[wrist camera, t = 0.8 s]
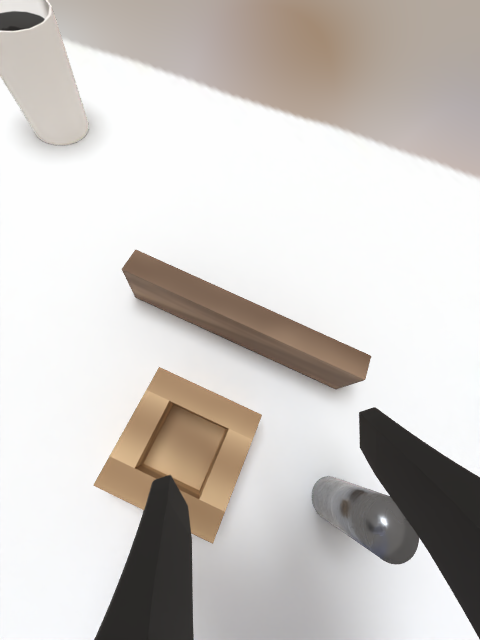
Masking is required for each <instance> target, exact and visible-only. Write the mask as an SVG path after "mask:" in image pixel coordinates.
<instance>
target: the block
mask: <svg viewBox="0 0 480 640" xmlns="http://www.w3.org/2000/svg"><path fill="white" fill-rule="evenodd" d="M261 416H262V415H261V414H259V413H257V412H254V411H252V410H250V409H248V408H246V407H244V406H242V405H239V404H237V403H235V402H233V401H231V400H229V399H227V398H224V397H222V396H220V395H218V394H216V393H214V392H212V391H209V390H207V389H205V388H203V387H201V386H199V385H197V384H194V383H192V382H190V381H188V380H186V379H184V378H182V377H179V376H177V375H175V374H173V373H171V372H169V371H167V370H164V369H162V368H160V367H159V368H158V370H157V372H156V374H155V376H154V377H153V379H152V381H151V383H150V385H149V386H148V388H147V390H146V392H145V394H144V395H143V397H142V399H141V401H140V402H139V404H138V406H137V408H136V410H135V411H134V413H133V415H132V417H131V419H130V420H129V422H128V424H127V426H126V428H125V429H124V431H123V433H122V435H121V437H120V438H119V440H118V442H117V444H116V446H115V447H114V449H113V451H112V453H111V455H110V456H109V458H108V460H107V462H106V464H105V465H104V467H103V469H102V471H101V473H100V474H99V476H98V478H97V480H96V481H95V483H94V486H96V487H98V488H100V489H102V490H104V491H106V492H108V493H110V494H112V495H114V496H116V497H118V498H120V499H122V500H124V501H126V502H128V503H130V504H133V505H135V506H137V507H139V508H141V509H143V510H144V508H145V505H146V502H147V498H148V495H149V492H150V488H151V484H152V482H153V481H154V480H156V479H159V478H162V477H165V476H168V475H171V476H172V478H173V480H174V481H175V483H176V485H177V487H178V489H179V490H180V492H181V494H182V496H183V498H184V499H185V501H186V503H187V505H188V510H189V518H190V527H191V533H192V534H194V535H196V536H198V537H200V538H202V539H204V540H206V541H208V542H210V543H212V544H213V542H214V539H215V536H216V534H217V531H218V528H219V526H220V523H221V521H222V518H223V515H224V513H225V510H226V508H227V505H228V502H229V500H230V497H231V495H232V492H233V489H234V487H235V484H236V481H237V479H238V476H239V474H240V471H241V468H242V466H243V463H244V461H245V458H246V455H247V453H248V450H249V448H250V445H251V442H252V440H253V437H254V435H255V432H256V429H257V427H258V424H259V421H260V419H261Z"/></svg>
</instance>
